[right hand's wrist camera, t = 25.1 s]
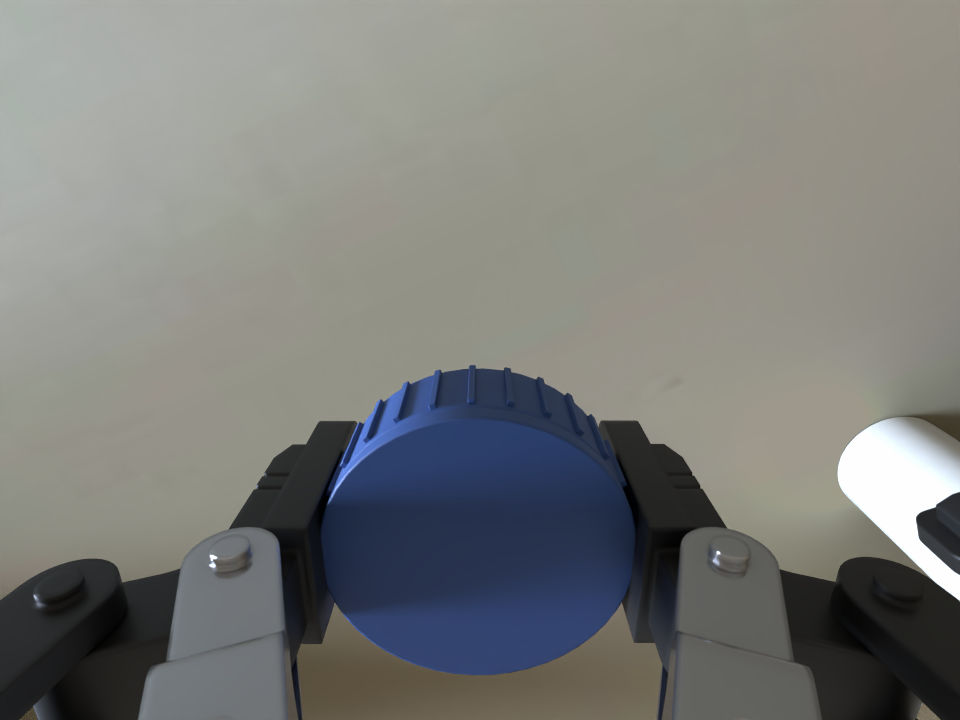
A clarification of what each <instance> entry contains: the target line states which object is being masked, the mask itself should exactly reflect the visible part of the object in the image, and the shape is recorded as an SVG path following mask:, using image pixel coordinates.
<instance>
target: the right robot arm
mask: <svg viewBox="0 0 960 720" xmlns="http://www.w3.org/2000/svg"><path fill="white" fill-rule="evenodd" d="M357 425H358V424H357V422H356V421H320V422H319V423H318V424H317V426H316V428H315V429H314V431H313V433H312V435H311V437H310V438H309V440H308V442H307V444H306V445H291V446H290V447H289V448H287V449H286V450H284V451H283V452H282V453H280V454H279V455H277V456H276V457H275V458H274V459H273V460H272V462H271V464H270V465H269V467H268V468H267V470H266V471H265V473H264V476H262V478H261V479H260V481H259V482H258V484H257V486H256V490H253V492H252V493H251V495H250V497H249V498H248V500H247V501H246V503H245V504H244V506H243V508H242V509H241V511H240V512H239V514H238V515H237V517H236V519H235V520H234V522H233V523H232V525H231V526H230V528H229V530H226V531H223V532H220V533H217V534H215V535H212V536H210V537H208V538H206V539H205V540H203V541H201V542H200V543H199V544H197V545H196V546H195V547H194V548H192V549H191V550H190V551H189V553H188V554H187V555H186V556H185V558H184V560H183V562H182V565H181V568H180V569H178V570H175V571H172V572H168V573H164V574H160V575H155V576H151V577H146V578H142V579H137V580H133V581H128V582H123V583H122V580H121V577H120V573H119V571H118V568H117V567H116V566H115V565H114V564H113V563H111V562H109V561H106V560H103V559H82V560H76V561H71V562H67V563H64V564H61V565H58V566H55V567H53V568H50V569H48V570H46V571H44V572H42V573H39V574H38V575H36V576H34V577H32V578H31V579H29V580H28V581H26V582H25V583H23V584H22V585H20V586H19V587H18V588H16V589H15V590H14V591H12V592H11V593H10V594H8V595H7V596H6V597H4V598H3V599H2V600H0V720H19V719H20V718H21V717H22V716H23V715H24V714H25V713H26V712H28V711H29V710H30V709H31V708H32V707H33V708H34V710H35V713H36V715H37V718H38V720H304V717H303V707H302V696H301V685H300V675H299V668H298V662H297V653H298V650H299V648H300V645H301V644H322V642H323V639H324V635H325V632H326V629H327V626H328V622H329V619H330V616H331V613H332V609H333V606H334V603H335V601H334V599H333V597H332V595H331V593H330V591H329V590H328V588H327V582H326V575H325V567H324V559H323V551H322V543H321V533H320V529H321V522H322V518H323V515H324V512H325V509H326V506H327V503H328V500H329V498H330V496H327V495H326V493H327V490H328V487H329V485H330V483H331V481H332V478H333V476H334V474H335V471H336V469H337V467H338V464H339V462H340V460H341V457H342V455H343V453H344V450H345V448H348V445H349V443H350V441H351V438H352V436H353V433H354V431H355V429H356V426H357ZM599 431H600V433H601V436H602V438H603V441H604V440H607V439H608V441H609V443H610V445H611V448H612V450H613V452H614V455H615V457H616V460H617V462H618V465H619V467H620V469H621V472H622V474H623V477H624V479H625V481H626V484H627V486H624V487H622V488H623V490H624V493H625V495H626V498H627V500H628V503H629V505H630V508H631V510H632V513H633V517H634V522H635V526H636V539H635V548H634V556H633V564H632V573H631V580H630V586H629V588H628V591H627V593H626V595H625V597H624V599H623V601H622V604H623V607H624V611H625V614H626V617H627V620H628V624H629V627H630V630H631V634H632V637H633V640H634V643H655V644H656V647H657V650H658V653H659V656H660V659H661V662H662V668H661V675H660V685H659V696H658V707H657V717H656V720H918V719H917V718H916V717H917V714H918V712H919V709H920V706H921V704H922V702H923V703H924V704H925V705H926V706H927V707H928V708H929V709H930V710H931V711H932V712H934V713H935V714H936V715H937V716H938V717H939V718H940V719H941V720H960V600H958V599H957V598H956V597H954V596H953V595H952V594H950V593H949V592H948V591H946V590H945V589H944V588H942V587H941V586H940V585H938V584H937V583H935V582H934V581H933V580H931V579H930V578H928V577H927V576H925V575H923V574H921V573H919V572H918V571H916V570H913V569H911V568H909V567H907V566H904V565H902V564H899V563H896V562H893V561H889V560H885V559H880V558H873V557H858V558H853V559H849V560H847V561H845V562H844V563H843V564H842V565H841V566H840V568H839V571H838V575H837V578H836V582H832V581H827V580H823V579H818V578H814V577H809V576H805V575H800V574H795V573H791V572H787V571H784V570H781V569H779V565H778V562H777V560H776V558H775V556H774V555H773V554H772V553H771V551H770V550H769V549H768V548H766V547H765V546H764V545H763V544H761V543H760V542H759V541H757V540H755V539H754V538H752V537H750V536H748V535H745V534H743V533H740V532H737V531H734V530H730V529H727V527H726V526H725V524H724V523H723V521H722V519H721V518H720V516H719V515H718V513H717V511H716V510H715V508H714V507H713V505H712V504H711V502H710V500H709V499H708V497H707V496H706V494H705V492H704V491H703V489H700V484H699V483H698V481H697V480H696V478H695V476H692V472H691V470H690V468H689V467H688V465H687V464H686V462H685V460H684V459H683V457H681V456H680V455H679V454H677V453H676V452H674V451H673V450H672V449H670V448H669V447H667V446H666V445H665V444H650V442H649V440H648V438H647V437H646V435H645V433H644V431H643V429H642V427H641V426H640V424H639V422H638V421H601V422H600V424H599Z"/></svg>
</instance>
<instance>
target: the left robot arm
mask: <svg viewBox="0 0 960 720" xmlns="http://www.w3.org/2000/svg"><path fill="white" fill-rule="evenodd" d="M916 525H917V532H918V537H919V540H920V541H921V542H922V543H923V544H924V545H925V546H926V547H927V548H928V549H929V550H930V551H931V552H932V553H934V554H935V555H936V556H937V557H938V558H939V559H940V560H941V561H942V562H943V563H945V564H946V565H947V566H948V567H949V568H950V569H951V570H952V571H953V572H955V573H956V574H958V575H960V492H958V493H954V494H952V495H950V496H949V497H947V498H945V499H944V500H942V501H941V502H939V503H938V504H936V507H934V508H931V509H928V510H924V511H922V512H920V513H919V514H918V515H917V516H916Z"/></svg>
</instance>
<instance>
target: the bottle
mask: <svg viewBox="0 0 960 720" xmlns="http://www.w3.org/2000/svg"><path fill="white" fill-rule="evenodd" d="M838 480H839V484H840V487H841V488H842V490H843V492H844V493H845V494H846V496H847V497H848V498H849V499H850V500H851V501H853V502H854V503H855V504H856V505H857V506H858V507H859V508H860V509H861V510H862V511H863V512H864V513H865V514H866V515H867V516H868V517H869V518H870V519H871V520H872V521H873V522H874V523H875V524H876V525H877V526H878V527H879V528H880V529H881V530H882V531H883V532H884V533H885V534H886V535H887V536H888V537H889V538H890V539H891V540H892V541H893V542H895V543H896V544H897V545H898V546H899V547H900V548H901V549H902V550H903V551H904V552H905V553H906V554H907V555H908V556H909V557H910V558H911V559H912V560H913V561H914V562H915V563H916V564H917V565H918V566H919V567H920V568H921V569H922V570H923V571H924V572H925V573H926V574H927V575H928V576H929V577H930V578H931V579H932V580H933V581H934V582H936V583H937V584H938V585H940V586H941V587H942V588H944V589H945V590H946V591H948V592H949V593H950V594H952V595H953V596H954V597H956V598H957V599H958V600H960V575H958V574H956V573H955V572H953V571H952V570H951V569H950V568H949V567H948V566H947V565H946V564H945V563H943V562H942V561H941V560H940V559H939V558H938V557H937V556H936V555H935V554H934V553H932V552H931V551H930V550H929V549H928V548H927V547H926V546H925V545H924V544H923V543H922V542H921V541H920V540H919V537H918V532H917V525H916V516H917V515H918V514H919V513H920V512H922V511H924V510H928V509H931V508H934V507H936V504H938V503H939V502H941V501H942V500H944V499H945V498H947V497H949V496H950V495H952V494H954V493H958V492H960V442H959V441H958V440H956V439H955V438H953V437H952V436H950V435H948V434H947V433H945V432H944V431H942V430H941V429H939V428H937V427H936V426H934V425H933V424H931V423H930V422H927V421H925V420H923V419H920V418H915V417H895V418H889V419H886V420H883V421H880V422H878V423H875V424H873V425H871V426H870V427H868V428H866V429H865V430H863V431H862V432H861V433H860V434H858V435H857V436H856V437H855V438H854V439H853V440H852V441H851V442H850V444H849V445H848V446H847V447H846V449H845V451H844V452H843V454H842V456H841V459H840V462H839V466H838Z"/></svg>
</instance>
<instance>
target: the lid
mask: <svg viewBox="0 0 960 720" xmlns="http://www.w3.org/2000/svg"><path fill="white" fill-rule="evenodd" d="M624 486H627V484H626V481H625V479H624V477H623V474H622V472H621V469H620V467H619V465H618V462H617V460H616V457H615V455H614V452H613V450H612V448H611V445H610V443H609V441H608V439H607V440H604V441H603V438H602V436H601V433H600V431H599V428H598V426H597V423H596V421H595V418H594V417H593V415H592V414H590V415H589V416H587V415H586V414H585V413H584V412H583V410H582V409H580V408H579V407H578V406H577V405H576V404H575V403H574V400H573V398H572V395H570V394H569V393H567V394H566V395H563V394H562V393H560V392H559V391H557V390H556V389H554V388H552V387H550V386H548V385H546V384H545V383H544V379H543V378H540V377H538V378H537V380H535V379H533V378H530V377H527V376H524V375H521V374H517V373H512V372H511V369H510V368H506V367H505V368H504V371H503V370H493V369H476V366H475V365H470V366H469V369H462V370H456V371H449V372H444V373H442V372H441V370H437V371H435V373H434V375H433V376H430V377H426V378H424V379H422V380H419V381H417V382H415V383H412V384H410V383H409V382H406V383H404V384H403V387H402V389H401V390H400V391H398V392H396V393H395V394H393V395H392V396H391V397H389V398H388V399H387V400H386V401H384V402H383V401H382V400H381V399H380V400H379V401H378V402H377V403H376V406H375V408H374V411H373V413H372V414H371V415H370V416H369V417H368V418H367V420H366V421H365V423H364V424H362V423H361V422H359V423H358V425H357V426H356V429H355V431H354V433H353V436H352V438H351V441H350V443H349V445H348V448H345V450H344V453H343V455H342V457H341V460H340V462H339V464H338V467H337V469H336V471H335V474H334V476H333V478H332V481H331V483H330V485H329V487H328V490H327V493H326V495H327V496H330V498H329V500H328V503H327V506H326V509H325V512H324V515H323V518H322V522H321V529H320V533H321V543H322V551H323V559H324V567H325V575H326V582H327V588H328V590H329V591H330V593H331V595H332V597H333V599H334V601H335V603H336V605H337V606H338V607H339V609H340V610H341V612H342V613H343V615H344V616H345V617H346V618H347V619H348V620H349V622H350V623H351V624H352V625H353V626H354V627H355V628H356V629H357V630H358V631H359V632H360V633H362V634H363V635H364V636H365V637H366V638H367V639H369V640H370V641H371V642H373V643H374V644H376V645H377V646H379V647H380V648H382V649H383V650H385V651H387V652H389V653H391V654H393V655H394V656H396V657H398V658H400V659H403V660H405V661H408V662H410V663H413V664H415V665H418V666H422V667H425V668H429V669H432V670H436V671H442V672H448V673H453V674H465V675H494V674H503V673H511V672H516V671H520V670H525V669H529V668H532V667H535V666H538V665H541V664H545V663H547V662H550V661H552V660H554V659H556V658H559V657H561V656H563V655H565V654H567V653H568V652H570V651H572V650H573V649H575V648H577V647H579V646H580V645H581V644H583V643H584V642H585V641H587V640H588V639H589V638H591V637H592V636H593V635H594V634H596V633H597V632H598V631H599V630H600V629H601V628H602V627H603V626H604V625H605V624H606V623H607V622H608V620H609V619H610V618H611V617H612V615H613V614H614V613H615V612H616V610H617V609H618V607H619V606H620V604H621V602H622V601H623V599H624V597H625V595H626V593H627V591H628V588H629V586H630V580H631V573H632V564H633V556H634V548H635V539H636V526H635V522H634V517H633V513H632V510H631V508H630V505H629V503H628V500H627V498H626V495H625V493H624V490H623V488H622V487H624Z"/></svg>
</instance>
